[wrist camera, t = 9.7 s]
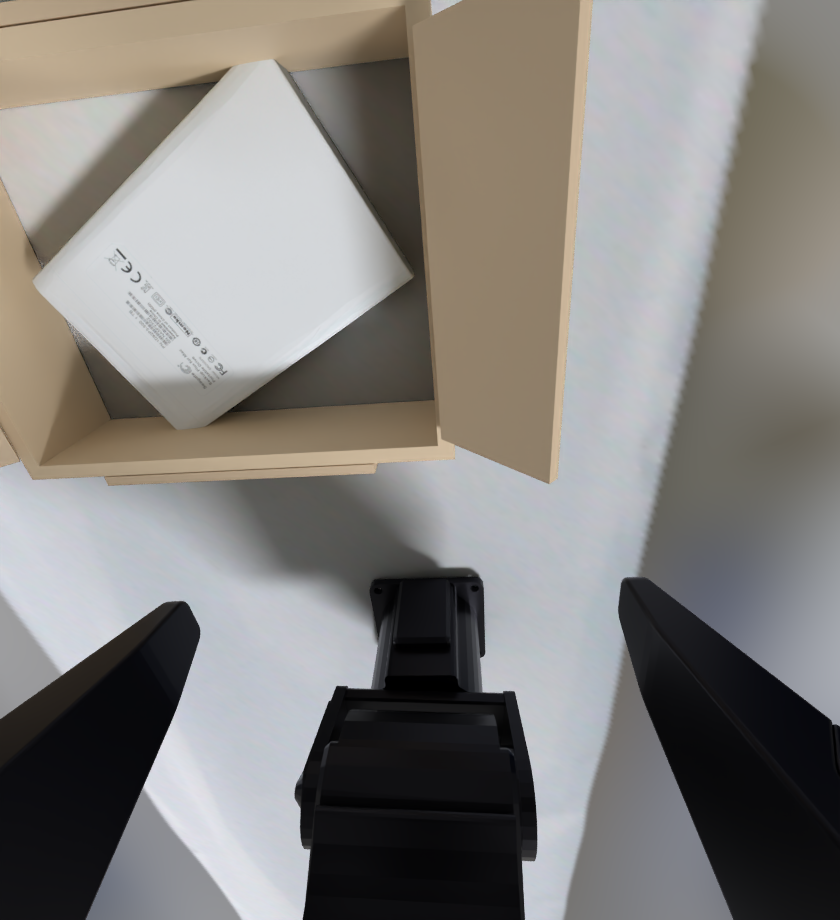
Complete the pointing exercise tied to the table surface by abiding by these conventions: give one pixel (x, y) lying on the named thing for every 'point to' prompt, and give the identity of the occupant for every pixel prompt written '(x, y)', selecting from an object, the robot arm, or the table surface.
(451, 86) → the flap
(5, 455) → the flap
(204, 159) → the external hard drive
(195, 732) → the table surface
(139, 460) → the carton
